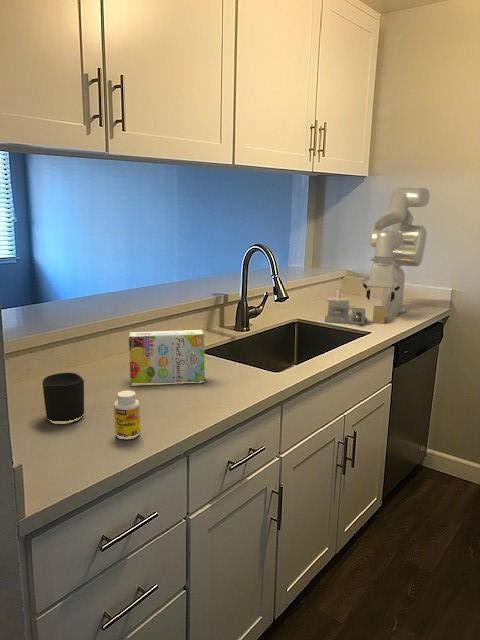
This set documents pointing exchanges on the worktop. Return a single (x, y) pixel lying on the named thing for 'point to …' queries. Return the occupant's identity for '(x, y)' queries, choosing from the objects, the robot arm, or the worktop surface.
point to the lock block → (379, 314)
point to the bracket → (343, 313)
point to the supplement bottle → (127, 414)
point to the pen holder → (63, 396)
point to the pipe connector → (338, 297)
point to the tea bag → (392, 307)
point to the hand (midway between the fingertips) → (379, 300)
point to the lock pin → (358, 316)
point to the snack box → (166, 356)
